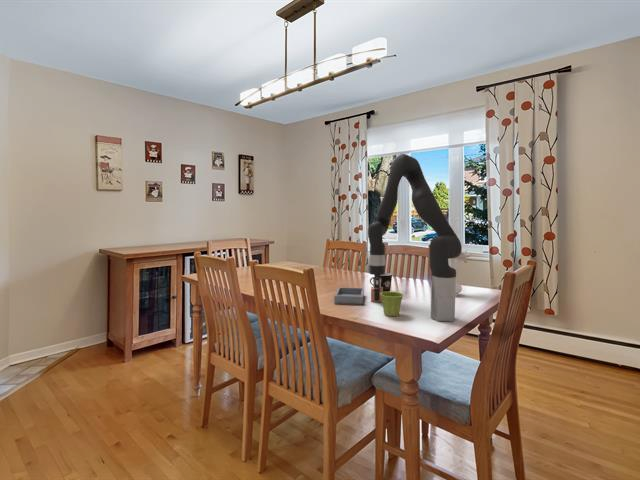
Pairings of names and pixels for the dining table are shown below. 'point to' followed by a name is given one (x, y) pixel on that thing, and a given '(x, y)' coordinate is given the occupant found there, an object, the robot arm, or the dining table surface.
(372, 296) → the terracotta block
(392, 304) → the plant pot
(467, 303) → the dining table surface
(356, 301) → the gray tray
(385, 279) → the coffee mug
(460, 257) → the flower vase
